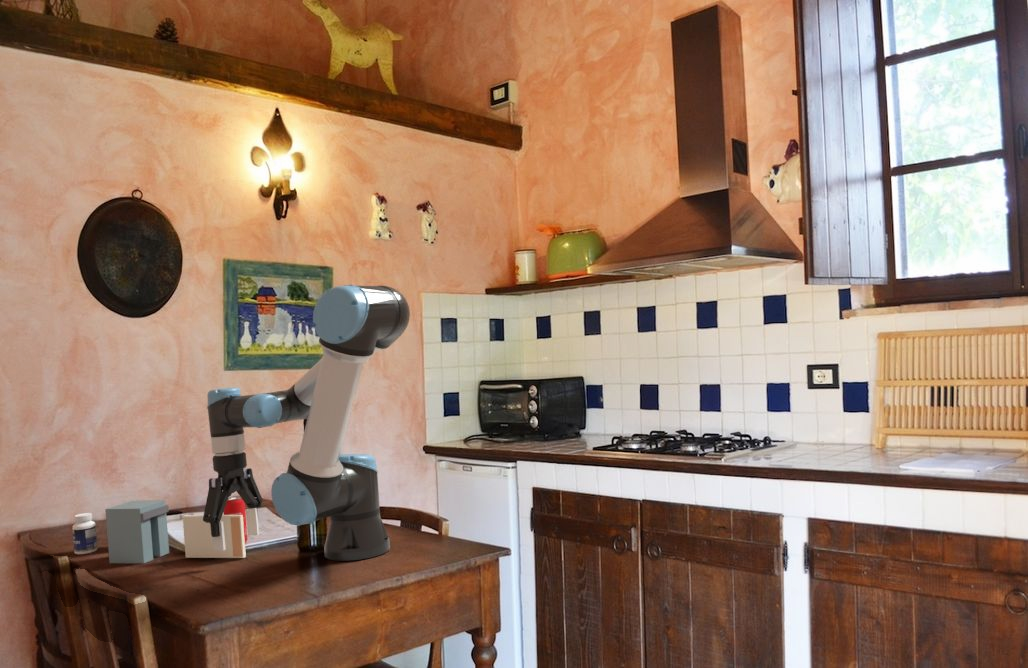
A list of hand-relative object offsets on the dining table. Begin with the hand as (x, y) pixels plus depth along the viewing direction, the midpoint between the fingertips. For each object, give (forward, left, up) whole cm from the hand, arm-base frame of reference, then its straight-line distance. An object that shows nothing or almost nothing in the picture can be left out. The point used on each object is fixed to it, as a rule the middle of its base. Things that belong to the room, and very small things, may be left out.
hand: (237, 542), depth 196 cm
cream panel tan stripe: (+6, +3, -4) cm, 7 cm away
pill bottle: (+45, +20, -4) cm, 50 cm away
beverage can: (+13, -6, -4) cm, 15 cm away
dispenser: (+24, +14, -4) cm, 28 cm away
